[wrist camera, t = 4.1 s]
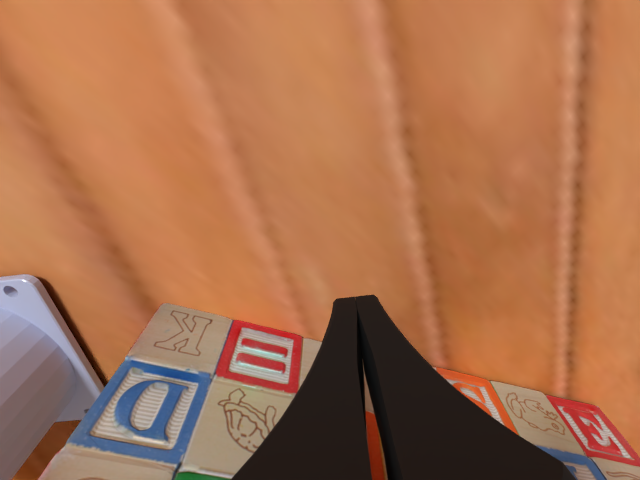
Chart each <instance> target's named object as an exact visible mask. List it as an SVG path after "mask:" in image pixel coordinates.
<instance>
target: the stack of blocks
mask: <svg viewBox="0 0 640 480" xmlns="http://www.w3.org/2000/svg"><path fill="white" fill-rule="evenodd" d="M321 344H322V342H320V341H316V340H312V339H305V338H302V337H301V336H299V335H296V334H292V333H288V332H284V331H280V330H276V329H272V328H268V327H263V326H259V325H255V324H251V323H247V322H243V321H239V320H232V319H229V318H227V317H224V316H220V315H216V314H212V313H208V312H203V311H199V310H195V309H191V308H186V307H182V306H178V305H173V304H169V303H164V304H162V305H161V306H160V307H159V308H158V310H157V311H156V312H155V314H154V315H153V317H152V318H151V320H150V321H149V323H148V324H147V326H146V328H145V329H144V330H143V332H142V333H141V334H140V336H139V338H138V339H137V340H136V342H135V343H134V345H133V346H132V347H131V349H130V351H129V352H128V354H127V356H126V357H125V361H124V362H123V363H122V364H121V365H120V367H119V368H118V370H117V371H116V372H115V374H114V375H113V376H112V378H111V379H110V381H109V382H108V384H107V385H106V386H105V388H104V389H103V391H102V392H101V394H100V395H99V396H98V398H97V399H96V401H95V402H94V403H93V405H92V406H91V408H90V409H89V411H88V412H87V413H86V415H85V416H84V418H83V419H82V420H81V422H80V423H79V425H78V426H77V427H76V429H75V430H74V432H73V433H72V434H71V436H70V437H69V439H68V440H67V442H66V444H65V446H64V447H63V448H62V449H61V450H60V451H58V452H57V453H56V454H55V456H54V457H53V458H52V460H51V461H50V462H49V464H48V465H47V466H46V468H45V470H44V471H43V473H42V474H41V476H40V477H39V478H38V479H37V480H230V479H231V478H232V477H233V476H234V475H235V474H236V473H237V472H238V470H239V469H240V468H241V467H242V466H243V465H244V464H245V463H246V461H247V460H248V459H249V458H250V457H251V456H252V455H253V453H254V452H255V451H256V450H257V448H258V447H259V446H260V445H261V443H262V442H263V441H264V439H265V438H266V437H267V435H268V434H269V433H270V432H271V430H272V429H273V428H274V426H275V425H276V424H277V422H278V421H279V419H280V418H281V417H282V415H283V414H284V412H285V411H286V409H287V408H288V406H289V405H290V403H291V401H292V400H293V398H294V397H295V395H296V394H297V392H298V390H299V388H300V387H301V385H302V383H303V381H304V380H305V378H306V376H307V374H308V372H309V370H310V368H311V366H312V364H313V362H314V360H315V357H316V355H317V353H318V351H319V349H320V346H321ZM362 360H363V359H362ZM433 368H434V369H435V370H436V371H437V372H438V373H439V374H440V375H441V376H442V377H444V378H445V379H446V380H447V381H448V382H449V383H450V384H451V385H453V386H454V387H455V388H456V389H457V390H458V391H460V392H461V393H462V394H463V395H464V396H466V397H467V398H468V399H470V400H471V401H472V402H474V403H475V404H476V405H477V406H479V407H480V408H481V409H483V410H484V411H485V412H486V413H488V414H489V415H490V416H492V417H493V418H494V419H496V420H497V421H499V422H500V423H502V424H503V425H504V426H506V427H507V428H509V429H510V430H512V431H513V432H515V433H516V434H517V435H519V436H521V437H522V438H524V439H525V440H527V441H529V442H530V443H532V444H534V445H535V446H537V447H538V448H540V449H542V450H543V451H545V452H547V453H548V454H550V455H552V456H553V457H555V458H556V459H558V460H560V461H561V462H563V463H564V464H565V466H566V467H567V468H568V470H569V471H570V472H571V473H572V475H573V476H574V477H575V479H576V480H640V458H639V456H638V455H637V453H636V452H635V451H634V450H633V449H632V447H631V446H630V445H629V443H628V442H627V441H626V439H625V438H624V437H623V436H622V434H621V433H620V432H619V431H618V430H617V429H616V427H615V426H614V425H613V424H612V423H611V421H610V420H609V419H608V418H607V417H606V416H605V414H604V413H603V412H602V411H601V410H600V408H599V407H598V406H595V405H590V404H586V403H581V402H576V401H572V400H567V399H563V398H559V397H553V396H550V395H544V394H543V393H542V392H539V391H535V390H531V389H527V388H523V387H519V386H514V385H510V384H506V383H501V382H496V381H488V380H486V379H483V378H479V377H476V376H471V375H467V374H463V373H459V372H455V371H451V370H446V369H442V368H438V367H434V366H433ZM363 369H364V366H363ZM364 387H365V410H366V433H367V444H368V452H369V459H370V467H371V474H372V480H388V478H387V472H386V465H385V459H384V453H383V448H382V443H381V438H380V434H379V430H378V426H377V422H376V418H375V414H374V410H373V406H372V402H371V398H370V393H369V389H368V385H367V381H366V377H365V373H364Z"/></svg>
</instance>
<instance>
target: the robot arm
mask: <svg viewBox="0 0 640 480" xmlns="http://www.w3.org/2000/svg"><path fill="white" fill-rule="evenodd" d="M14 288H15V289H14ZM355 300H356V301H355ZM362 359H363V360H362ZM363 366H364V369H363ZM364 373H365V377H366V381H367V385H368V389H369V393H370V398H371V402H372V406H373V410H374V414H375V418H376V422H377V426H378V430H379V434H380V438H381V443H382V448H383V453H384V459H385V465H386V472H387V478H388V480H576V479H575V477H574V476H573V475H572V473H571V472H570V471H569V470H568V468H567V467H566V466H565V464H564V463H563V462H561V461H560V460H558V459H556V458H555V457H553V456H552V455H550V454H548V453H547V452H545V451H543V450H542V449H540V448H538V447H537V446H535V445H534V444H532V443H530V442H529V441H527V440H525V439H524V438H522V437H521V436H519V435H517V434H516V433H515V432H513V431H512V430H510V429H509V428H507V427H506V426H504V425H503V424H502V423H500V422H499V421H497V420H496V419H494V418H493V417H492V416H490V415H489V414H488V413H486V412H485V411H484V410H483V409H481V408H480V407H479V406H477V405H476V404H475V403H474V402H472V401H471V400H470V399H468V398H467V397H466V396H464V395H463V394H462V393H461V392H460V391H458V390H457V389H456V388H455V387H454V386H453V385H451V384H450V383H449V382H448V381H447V380H446V379H445V378H444V377H442V376H441V375H440V374H439V373H438V372H437V371H436V370H435V369H434V368H433V367H432V366H431V365H430V364H429V363H428V362H427V361H426V360H425V359H424V358H423V357H422V356H421V355H420V354H419V353H418V352H417V351H416V349H415V348H414V347H413V346H412V345H411V344H410V343H409V342H408V340H407V339H406V338H405V337H404V336H403V334H402V333H401V332H400V331H399V329H398V328H397V327H396V326H395V324H394V323H393V322H392V320H391V319H390V317H389V316H388V315H387V313H386V312H385V310H384V309H383V307H382V305H381V304H380V302H379V300H378V298H377V297H376V296H375V295H366V296H358V297H349V298H340V299H336V300H335V301H334V302H333V309H332V314H331V318H330V321H329V324H328V328H327V330H326V333H325V336H324V339H323V341H322V344H321V346H320V349H319V351H318V353H317V355H316V357H315V360H314V362H313V364H312V366H311V368H310V370H309V372H308V374H307V376H306V378H305V380H304V381H303V383H302V385H301V387H300V388H299V390H298V392H297V394H296V395H295V397H294V398H293V400H292V401H291V403H290V405H289V406H288V408H287V409H286V411H285V412H284V414H283V415H282V417H281V418H280V419H279V421H278V422H277V424H276V425H275V426H274V428H273V429H272V430H271V432H270V433H269V434H268V435H267V437H266V438H265V439H264V441H263V442H262V443H261V445H260V446H259V447H258V448H257V450H256V451H255V452H254V453H253V455H252V456H251V457H250V458H249V459H248V460H247V461H246V463H245V464H244V465H243V466H242V467H241V468H240V469H239V470H238V472H237V473H236V474H235V475H234V476H233V477H232V478H231V479H230V480H372V474H371V467H370V459H369V452H368V444H367V433H366V410H365V387H364ZM103 389H104V386H103V384H102V383H101V381H100V379H99V378H98V376H97V374H96V373H95V371H94V369H93V368H92V366H91V364H90V363H89V361H88V359H87V358H86V356H85V354H84V353H83V351H82V349H81V348H80V346H79V344H78V343H77V341H76V339H75V338H74V336H73V334H72V333H71V331H70V329H69V328H68V326H67V324H66V323H65V321H64V319H63V318H62V316H61V314H60V313H59V311H58V309H57V308H56V306H55V304H54V303H53V301H52V299H51V298H50V296H49V294H48V293H47V291H46V289H45V288H44V286H43V284H42V283H41V282H40V280H39V279H37V278H36V277H34V276H31V275H26V274H22V275H14V276H6V277H0V480H12V478H13V477H14V476H15V474H16V473H17V472H18V470H19V469H20V468H21V466H22V465H23V464H24V462H25V461H26V460H27V458H28V457H29V456H30V454H31V453H32V452H33V450H34V449H35V448H36V446H37V445H38V444H39V442H40V441H41V440H42V438H43V437H44V436H45V434H46V433H47V432H48V430H49V429H50V428H51V426H52V425H53V424H54V422H62V421H73V420H82V419H83V418H84V416H85V415H86V413H87V412H88V411H89V409H90V408H91V406H92V405H93V403H94V402H95V401H96V399H97V398H98V396H99V395H100V394H101V392H102V391H103Z"/></svg>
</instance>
